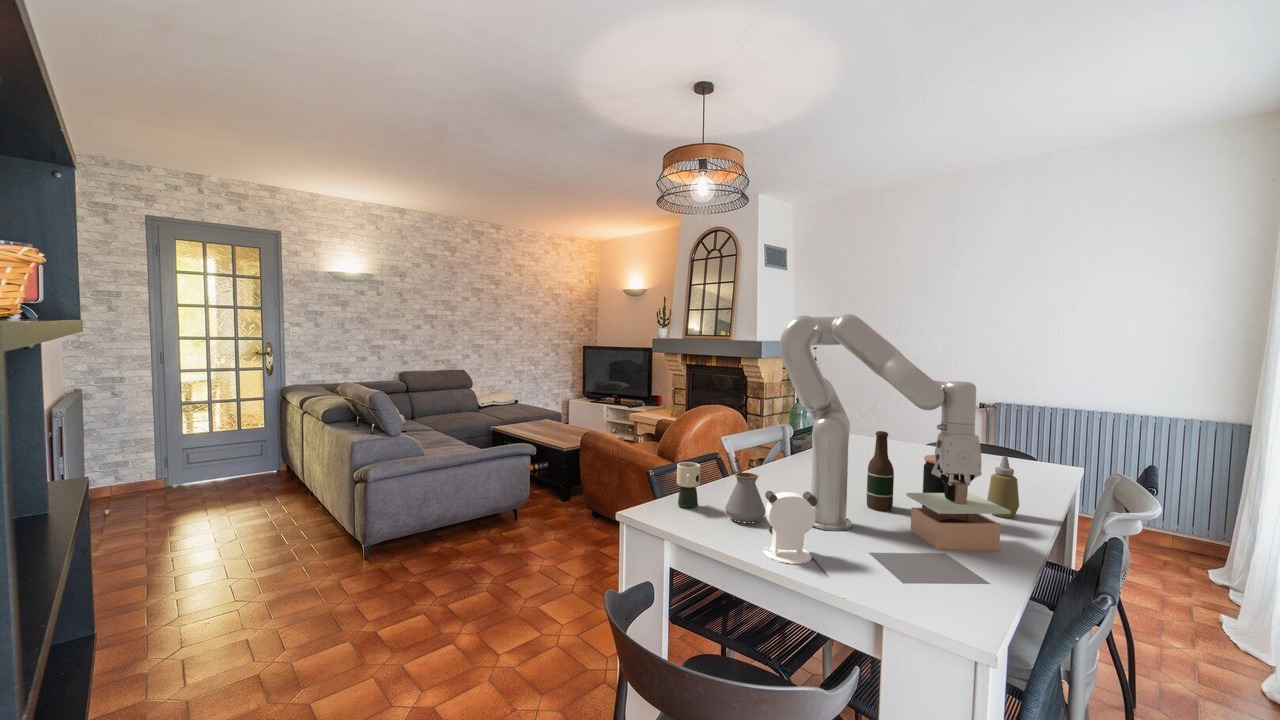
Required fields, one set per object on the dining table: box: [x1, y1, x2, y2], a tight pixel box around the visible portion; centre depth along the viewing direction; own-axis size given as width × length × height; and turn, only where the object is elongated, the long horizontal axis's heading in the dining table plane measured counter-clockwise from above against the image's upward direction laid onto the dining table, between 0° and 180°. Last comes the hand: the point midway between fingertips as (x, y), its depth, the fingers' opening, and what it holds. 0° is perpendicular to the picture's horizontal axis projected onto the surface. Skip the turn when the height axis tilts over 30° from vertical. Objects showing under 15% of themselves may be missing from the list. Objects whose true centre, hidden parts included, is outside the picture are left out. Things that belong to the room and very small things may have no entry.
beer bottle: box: [866, 430, 895, 512], centre depth 165 cm, size 8×8×24 cm
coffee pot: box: [724, 455, 766, 524], centre depth 157 cm, size 21×12×15 cm, turn 2°
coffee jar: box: [921, 454, 959, 508], centre depth 156 cm, size 11×11×18 cm
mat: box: [868, 552, 991, 585], centre depth 120 cm, size 19×16×1 cm
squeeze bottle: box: [986, 455, 1020, 519], centre depth 160 cm, size 8×8×18 cm
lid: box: [905, 480, 1011, 515], centre depth 137 cm, size 18×15×6 cm
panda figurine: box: [762, 490, 817, 565], centre depth 128 cm, size 12×11×15 cm
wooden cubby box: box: [910, 507, 1001, 552], centre depth 138 cm, size 16×13×7 cm
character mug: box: [676, 461, 701, 508], centre depth 163 cm, size 11×7×13 cm, turn 174°
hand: (955, 498), depth 137 cm, fingers closed on lid, 2 cm apart
